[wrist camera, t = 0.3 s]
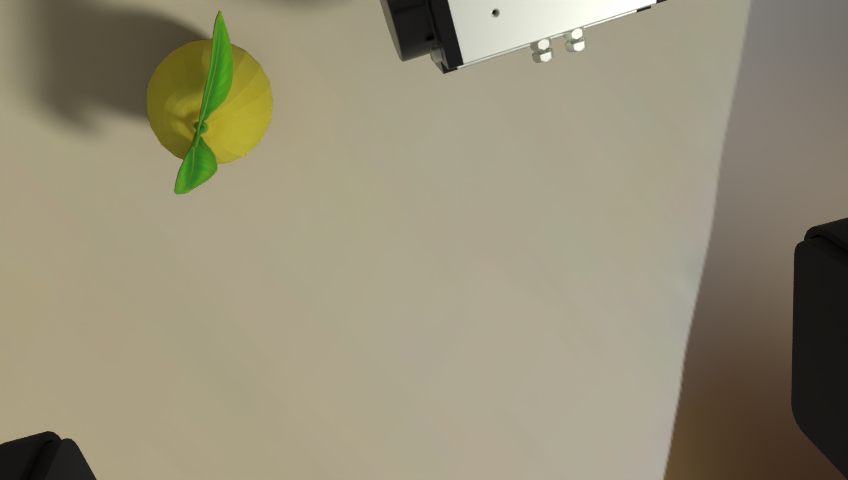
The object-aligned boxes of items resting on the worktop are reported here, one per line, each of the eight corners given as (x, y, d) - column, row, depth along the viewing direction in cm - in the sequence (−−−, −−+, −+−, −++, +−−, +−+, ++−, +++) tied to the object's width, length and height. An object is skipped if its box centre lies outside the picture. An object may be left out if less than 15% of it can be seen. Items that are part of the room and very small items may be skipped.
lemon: (233, -10, 35) (211, 22, 26) (307, 90, 38) (309, 149, 29) (124, 70, 36) (66, 127, 27) (203, 162, 38) (174, 242, 29)
